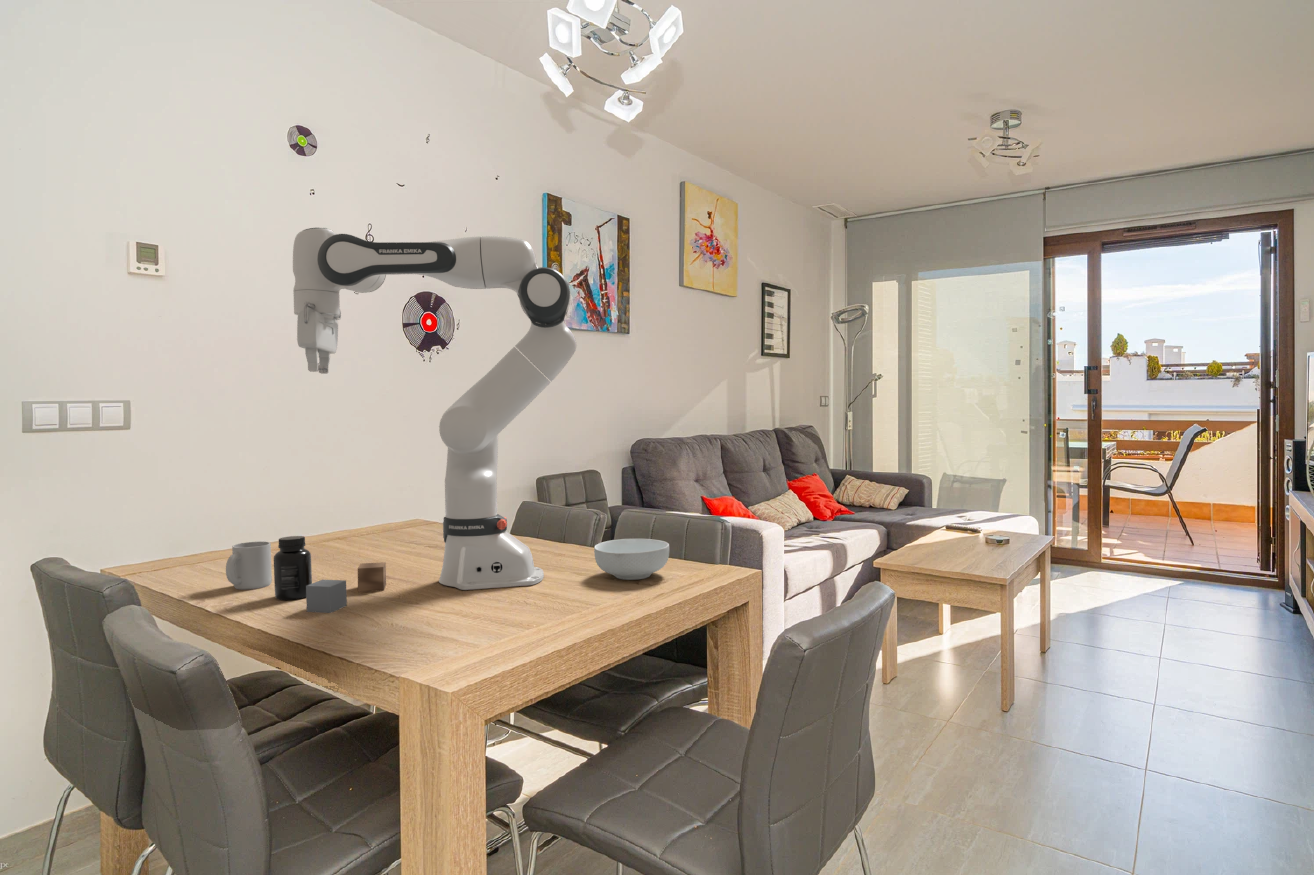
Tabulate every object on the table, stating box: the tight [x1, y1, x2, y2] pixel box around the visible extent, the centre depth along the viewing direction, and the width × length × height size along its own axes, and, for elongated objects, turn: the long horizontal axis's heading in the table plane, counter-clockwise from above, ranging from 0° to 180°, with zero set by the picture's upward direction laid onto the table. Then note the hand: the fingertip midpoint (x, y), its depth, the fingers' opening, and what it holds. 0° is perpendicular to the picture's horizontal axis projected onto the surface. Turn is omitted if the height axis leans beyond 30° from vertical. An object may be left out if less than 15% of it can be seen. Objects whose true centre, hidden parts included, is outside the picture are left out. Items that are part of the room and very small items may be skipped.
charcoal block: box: [305, 579, 348, 614], centre depth 140 cm, size 5×5×5 cm
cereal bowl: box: [593, 538, 670, 581], centre depth 165 cm, size 17×17×7 cm
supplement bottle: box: [273, 535, 313, 601], centre depth 149 cm, size 7×7×12 cm
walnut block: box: [357, 561, 387, 593], centre depth 155 cm, size 5×5×5 cm
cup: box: [225, 541, 273, 591], centre depth 157 cm, size 7×10×9 cm
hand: (318, 372), depth 156 cm, fingers open, 8 cm apart
